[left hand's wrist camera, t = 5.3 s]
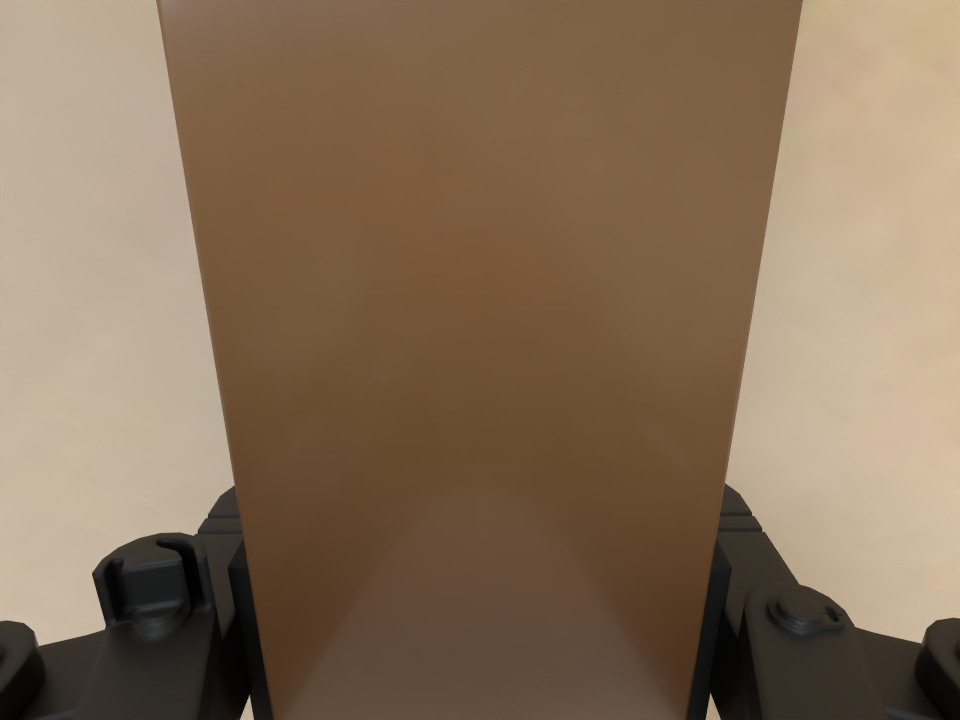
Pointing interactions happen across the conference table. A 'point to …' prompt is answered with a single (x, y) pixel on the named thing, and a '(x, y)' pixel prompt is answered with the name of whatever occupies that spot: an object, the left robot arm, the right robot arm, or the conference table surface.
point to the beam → (479, 333)
